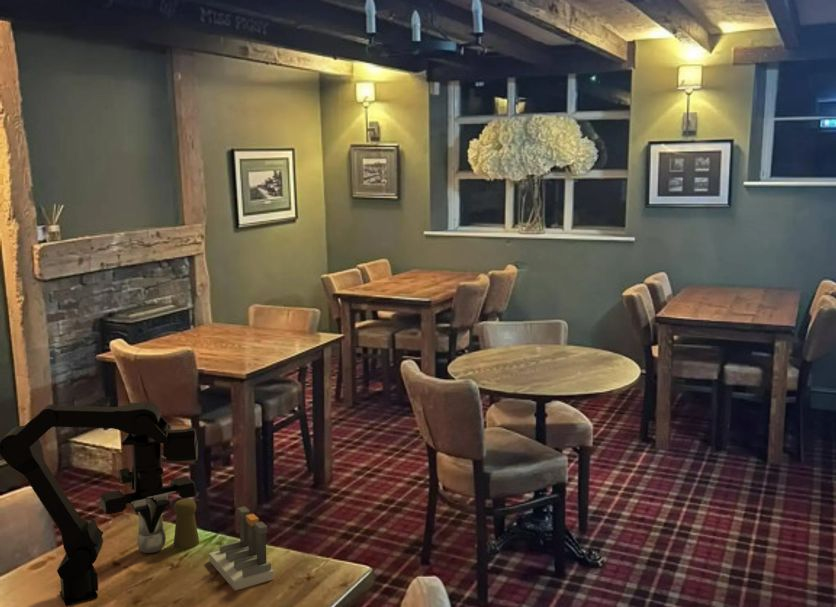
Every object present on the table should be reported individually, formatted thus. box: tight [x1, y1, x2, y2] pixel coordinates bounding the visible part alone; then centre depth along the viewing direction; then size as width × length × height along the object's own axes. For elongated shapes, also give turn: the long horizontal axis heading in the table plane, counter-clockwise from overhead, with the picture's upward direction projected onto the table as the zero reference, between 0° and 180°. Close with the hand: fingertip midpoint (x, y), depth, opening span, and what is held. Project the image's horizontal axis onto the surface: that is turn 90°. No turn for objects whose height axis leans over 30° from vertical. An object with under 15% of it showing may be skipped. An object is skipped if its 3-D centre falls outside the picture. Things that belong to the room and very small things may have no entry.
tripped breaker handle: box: [246, 513, 260, 556], centre depth 183 cm, size 2×3×10 cm, turn 34°
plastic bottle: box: [136, 499, 167, 554], centre depth 190 cm, size 6×7×20 cm
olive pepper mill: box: [173, 498, 200, 550], centre depth 194 cm, size 6×6×11 cm
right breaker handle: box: [254, 521, 269, 565], centre depth 178 cm, size 2×3×10 cm, turn 34°
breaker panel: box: [208, 540, 275, 591], centre depth 182 cm, size 9×16×4 cm, turn 34°
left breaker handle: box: [237, 506, 251, 548], centre depth 187 cm, size 2×3×10 cm, turn 34°
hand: (150, 532), depth 171 cm, fingers closed
